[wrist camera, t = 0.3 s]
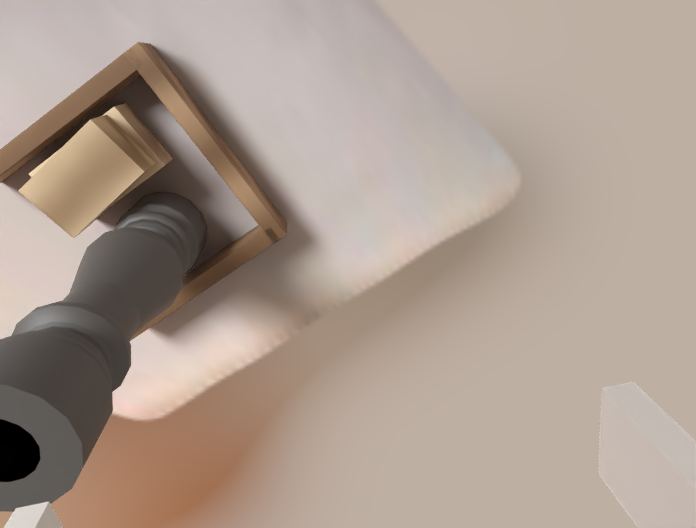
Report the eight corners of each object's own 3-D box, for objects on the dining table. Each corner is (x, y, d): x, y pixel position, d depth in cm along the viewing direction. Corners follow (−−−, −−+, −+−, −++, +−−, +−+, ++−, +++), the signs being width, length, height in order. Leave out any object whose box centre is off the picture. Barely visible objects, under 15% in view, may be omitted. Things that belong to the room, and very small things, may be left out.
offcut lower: (47, 165, 38) (28, 173, 35) (127, 102, 37) (114, 106, 34) (96, 216, 40) (81, 228, 37) (174, 158, 39) (164, 165, 36)
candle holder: (119, 194, 39) (-135, 385, 16) (200, 189, 40) (66, 366, 16) (136, 268, 41) (-65, 526, 18) (212, 261, 42) (109, 507, 19)
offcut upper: (39, 180, 36) (17, 191, 33) (106, 114, 34) (90, 119, 32) (89, 225, 37) (73, 238, 34) (155, 163, 36) (144, 171, 33)
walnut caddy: (-12, 169, 37) (-37, 177, 35) (150, 43, 35) (137, 42, 33) (140, 323, 43) (129, 341, 41) (286, 223, 41) (286, 234, 38)
